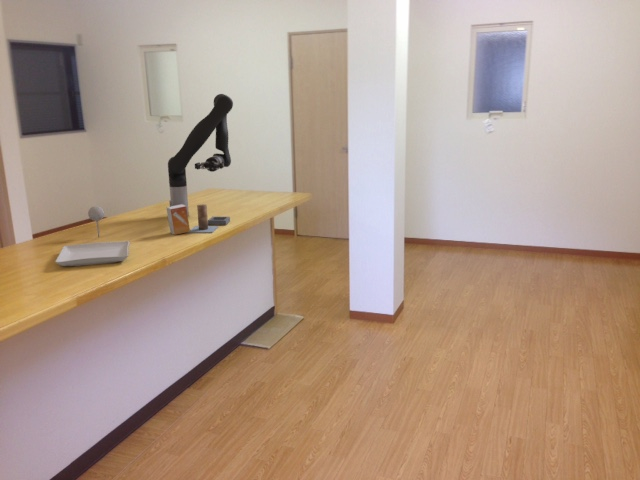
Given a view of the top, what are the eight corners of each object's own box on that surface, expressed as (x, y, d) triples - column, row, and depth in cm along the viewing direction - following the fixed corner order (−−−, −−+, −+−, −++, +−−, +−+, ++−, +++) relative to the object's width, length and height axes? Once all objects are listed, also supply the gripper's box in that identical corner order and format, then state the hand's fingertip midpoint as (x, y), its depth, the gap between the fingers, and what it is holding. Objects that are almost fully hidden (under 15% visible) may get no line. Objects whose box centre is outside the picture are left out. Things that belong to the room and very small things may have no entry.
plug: (197, 230, 278) (196, 206, 275) (200, 227, 282) (198, 204, 279) (206, 230, 277) (205, 206, 274) (209, 227, 282) (207, 204, 279)
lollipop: (110, 235, 271) (106, 205, 267) (99, 239, 264) (96, 208, 261) (97, 234, 273) (94, 204, 269) (87, 238, 267) (84, 207, 263)
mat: (188, 232, 274) (188, 231, 274) (195, 227, 286) (195, 226, 286) (212, 233, 274) (212, 231, 273) (218, 227, 285) (218, 226, 285)
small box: (174, 235, 270) (170, 209, 266) (170, 232, 275) (165, 207, 271) (190, 231, 274) (186, 205, 270) (186, 229, 279) (181, 203, 275)
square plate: (129, 264, 225) (128, 254, 224) (55, 271, 218) (54, 261, 217) (130, 247, 250) (129, 239, 249) (64, 253, 243) (63, 244, 242)
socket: (208, 225, 291) (207, 220, 290) (212, 221, 300) (212, 216, 299) (226, 225, 290) (225, 220, 289) (230, 221, 299) (229, 216, 299)
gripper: (200, 156, 298) (191, 159, 283) (226, 156, 297) (219, 159, 282) (201, 170, 300) (192, 174, 284) (227, 170, 299) (220, 174, 283)
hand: (205, 167), depth 283 cm, fingers open, 8 cm apart
